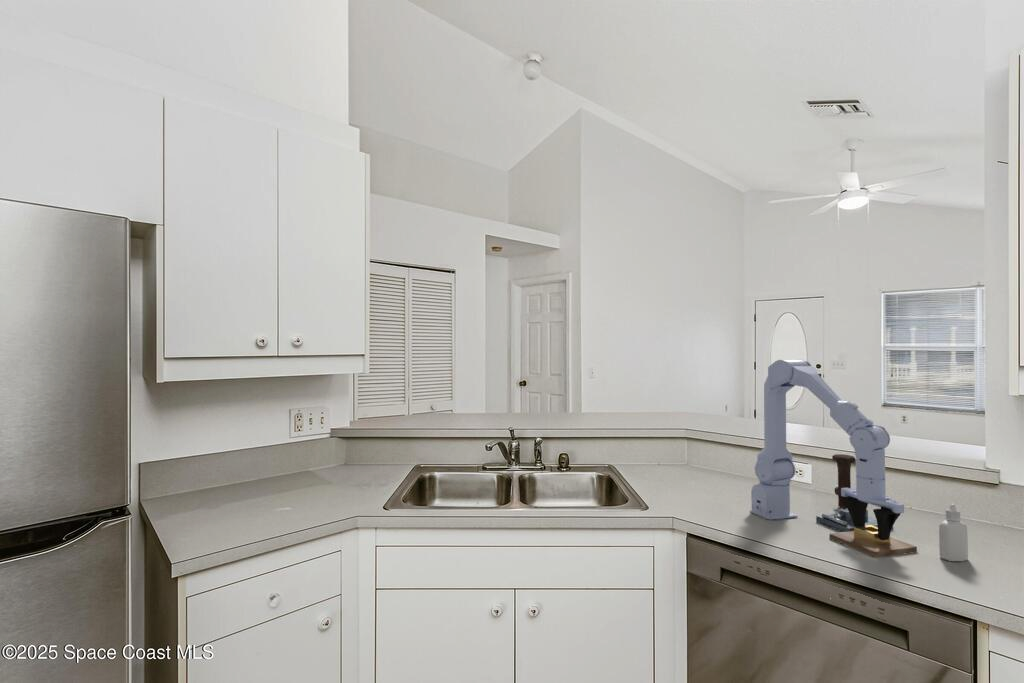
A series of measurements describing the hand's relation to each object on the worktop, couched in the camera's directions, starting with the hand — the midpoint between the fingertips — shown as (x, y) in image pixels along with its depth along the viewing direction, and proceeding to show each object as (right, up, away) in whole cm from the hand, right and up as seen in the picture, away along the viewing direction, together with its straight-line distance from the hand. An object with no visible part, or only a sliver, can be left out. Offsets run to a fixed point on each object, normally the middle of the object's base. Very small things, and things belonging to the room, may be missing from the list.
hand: (871, 534), depth 122 cm
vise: (+5, -3, +14) cm, 15 cm away
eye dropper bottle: (+12, -2, -8) cm, 15 cm away
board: (0, -2, 0) cm, 2 cm away
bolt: (+12, -3, +29) cm, 32 cm away
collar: (0, -1, 0) cm, 1 cm away
